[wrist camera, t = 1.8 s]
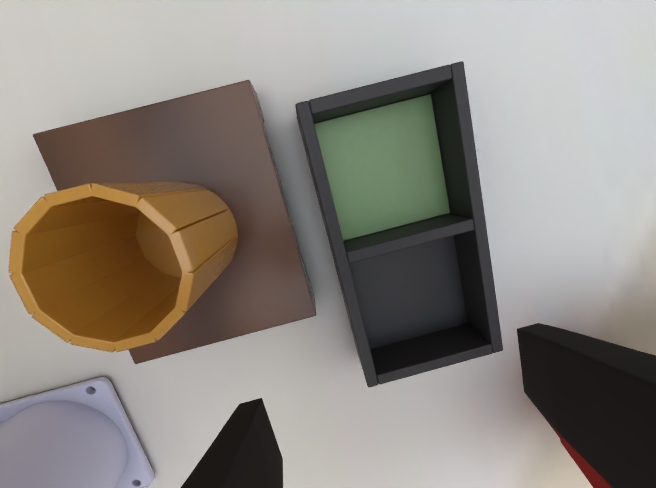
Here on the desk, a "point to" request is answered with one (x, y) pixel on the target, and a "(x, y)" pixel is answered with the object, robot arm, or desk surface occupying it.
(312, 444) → the desk surface
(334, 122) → the tray
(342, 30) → the desk surface
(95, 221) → the cup
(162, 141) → the brown flat block
